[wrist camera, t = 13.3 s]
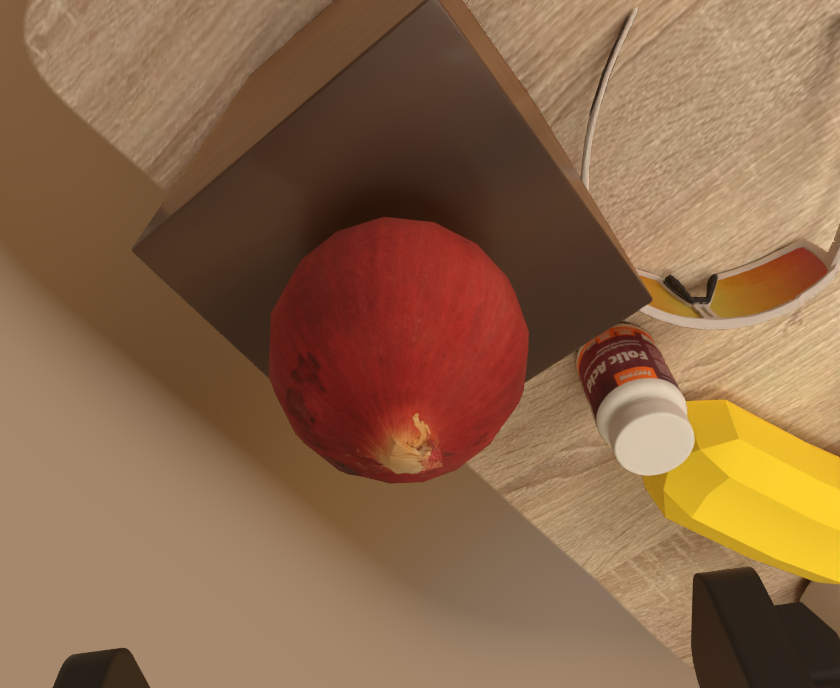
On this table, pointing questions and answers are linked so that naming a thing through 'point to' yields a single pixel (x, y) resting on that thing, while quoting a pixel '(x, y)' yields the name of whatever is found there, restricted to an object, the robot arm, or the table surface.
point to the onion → (398, 350)
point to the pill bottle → (635, 400)
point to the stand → (388, 177)
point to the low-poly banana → (756, 491)
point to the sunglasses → (737, 289)
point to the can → (824, 602)
